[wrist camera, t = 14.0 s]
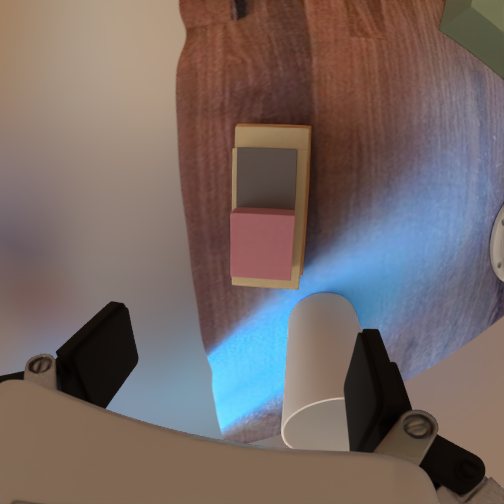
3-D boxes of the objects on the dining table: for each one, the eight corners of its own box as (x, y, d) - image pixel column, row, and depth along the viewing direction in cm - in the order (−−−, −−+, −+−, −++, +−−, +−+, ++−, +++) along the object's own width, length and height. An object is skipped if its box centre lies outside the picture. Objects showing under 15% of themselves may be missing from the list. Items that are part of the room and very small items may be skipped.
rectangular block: (516, 54, 18) (551, 44, 11) (511, 87, 20) (550, 81, 13) (446, -1, 18) (474, -26, 11) (438, 30, 20) (471, 6, 13)
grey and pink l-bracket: (239, 147, 23) (230, 146, 20) (297, 149, 22) (298, 148, 19) (238, 264, 26) (230, 280, 23) (290, 268, 26) (290, 284, 22)
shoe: (239, 125, 28) (226, 118, 22) (310, 127, 27) (314, 120, 21) (238, 265, 33) (226, 289, 27) (302, 270, 32) (303, 295, 26)
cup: (281, 300, 33) (269, 406, 18) (352, 285, 32) (388, 385, 17) (295, 355, 36) (291, 462, 21) (359, 342, 34) (385, 446, 19)
